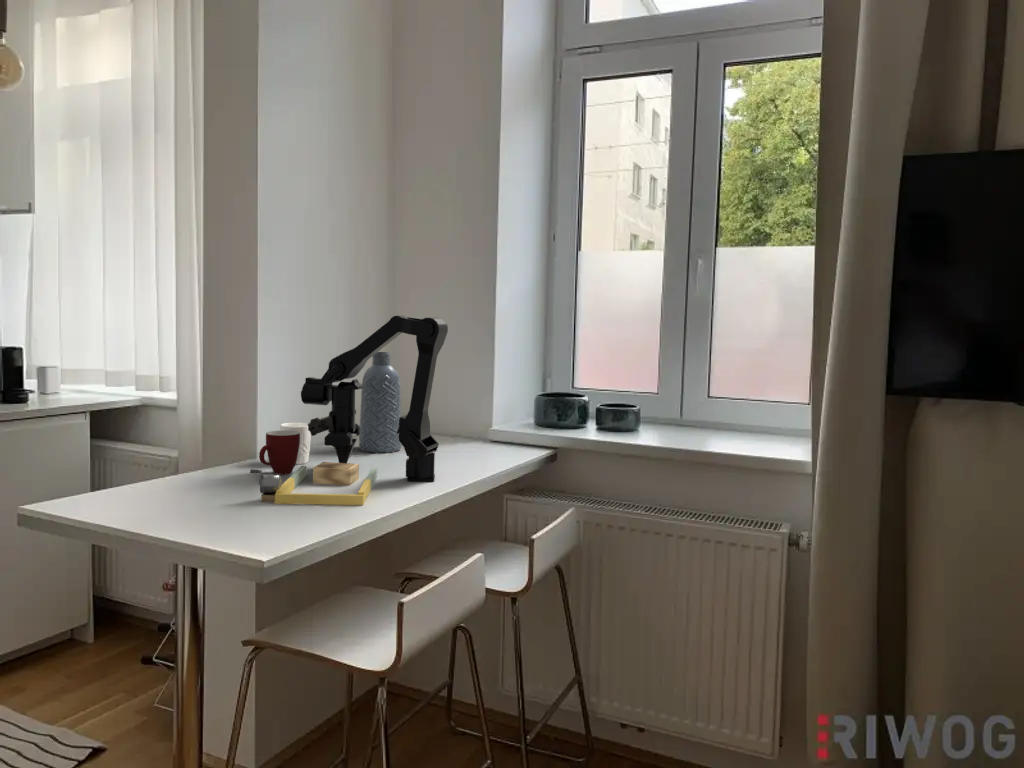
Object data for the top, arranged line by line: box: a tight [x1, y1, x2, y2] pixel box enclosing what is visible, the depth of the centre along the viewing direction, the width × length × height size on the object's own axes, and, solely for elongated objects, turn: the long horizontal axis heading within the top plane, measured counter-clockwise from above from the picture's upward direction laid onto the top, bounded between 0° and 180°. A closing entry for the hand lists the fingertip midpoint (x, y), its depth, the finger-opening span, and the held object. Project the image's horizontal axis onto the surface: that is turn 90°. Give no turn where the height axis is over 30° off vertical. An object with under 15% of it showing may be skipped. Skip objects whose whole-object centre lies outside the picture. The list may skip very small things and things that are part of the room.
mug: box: [258, 430, 300, 475], centre depth 203 cm, size 11×8×10 cm
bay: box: [274, 465, 378, 506], centre depth 189 cm, size 18×28×2 cm, turn 3°
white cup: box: [279, 422, 312, 465], centre depth 218 cm, size 8×8×10 cm
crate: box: [312, 461, 360, 486], centre depth 197 cm, size 9×7×4 cm
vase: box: [358, 351, 402, 454], centre depth 239 cm, size 12×12×28 cm
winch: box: [249, 468, 282, 503], centre depth 177 cm, size 6×4×7 cm, turn 93°
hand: (342, 468), depth 208 cm, fingers closed
